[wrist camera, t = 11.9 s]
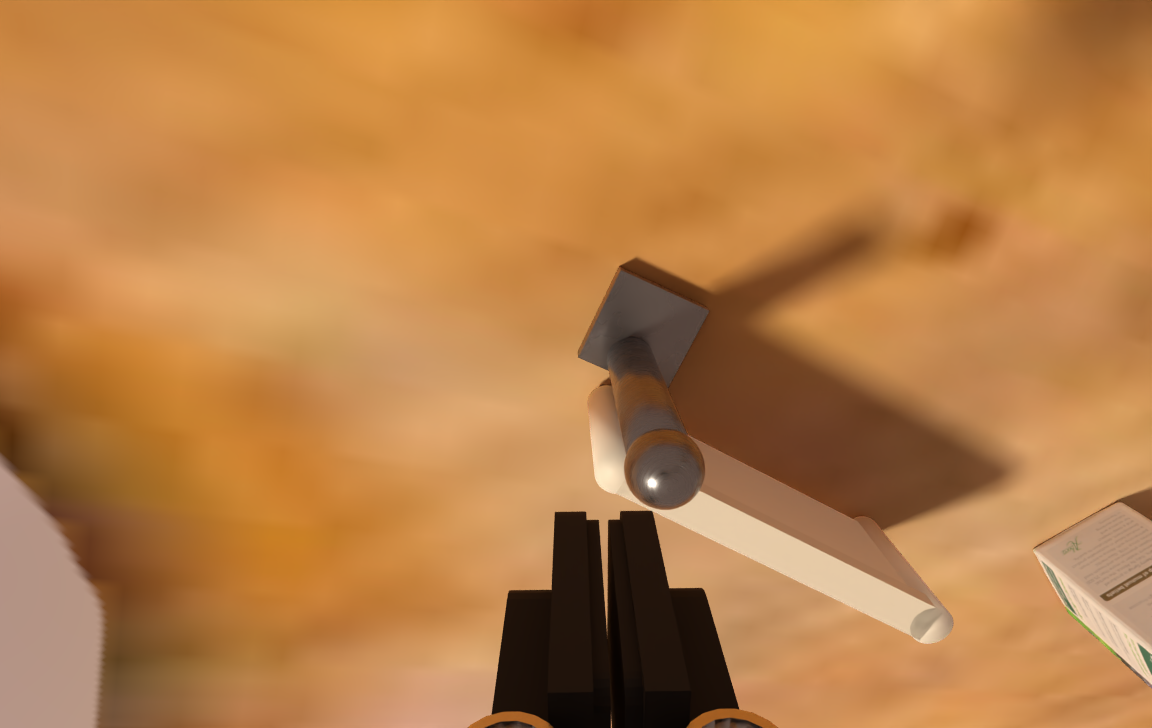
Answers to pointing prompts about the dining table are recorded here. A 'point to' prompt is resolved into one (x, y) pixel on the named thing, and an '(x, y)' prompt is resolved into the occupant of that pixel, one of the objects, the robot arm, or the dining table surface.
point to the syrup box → (1107, 581)
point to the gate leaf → (785, 532)
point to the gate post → (648, 384)
